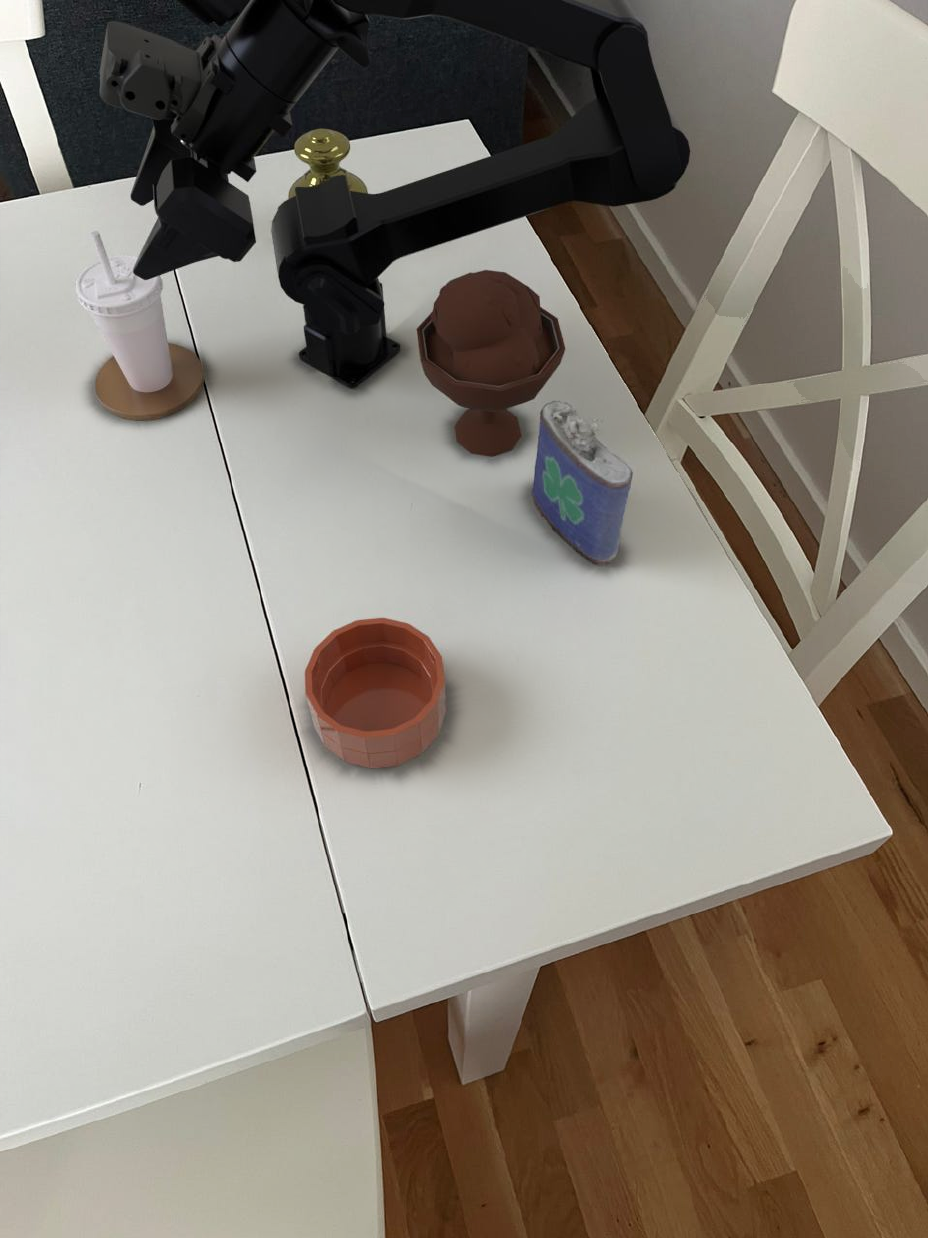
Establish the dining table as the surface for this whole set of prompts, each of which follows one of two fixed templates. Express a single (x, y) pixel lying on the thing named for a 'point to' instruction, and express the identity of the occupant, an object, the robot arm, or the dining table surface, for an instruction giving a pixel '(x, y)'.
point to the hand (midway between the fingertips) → (137, 237)
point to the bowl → (376, 692)
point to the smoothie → (128, 317)
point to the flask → (579, 484)
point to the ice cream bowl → (489, 354)
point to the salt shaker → (324, 159)
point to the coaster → (156, 404)
